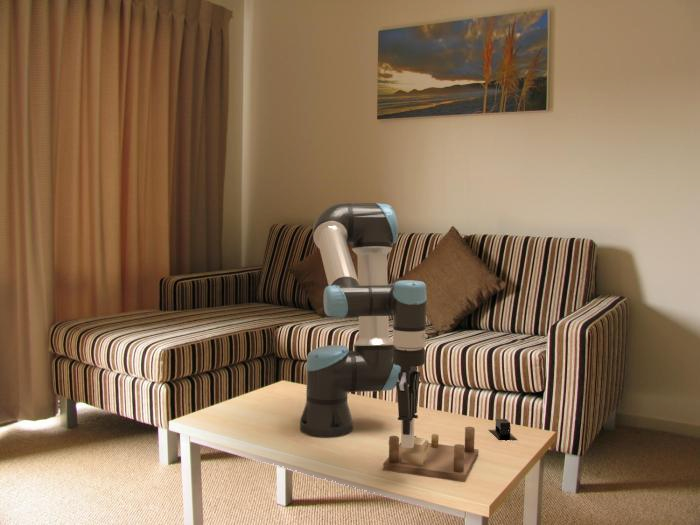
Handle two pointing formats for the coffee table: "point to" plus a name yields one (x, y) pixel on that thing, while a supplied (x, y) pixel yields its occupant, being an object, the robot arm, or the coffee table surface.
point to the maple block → (415, 452)
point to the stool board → (437, 458)
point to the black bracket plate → (502, 430)
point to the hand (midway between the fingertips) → (407, 446)
